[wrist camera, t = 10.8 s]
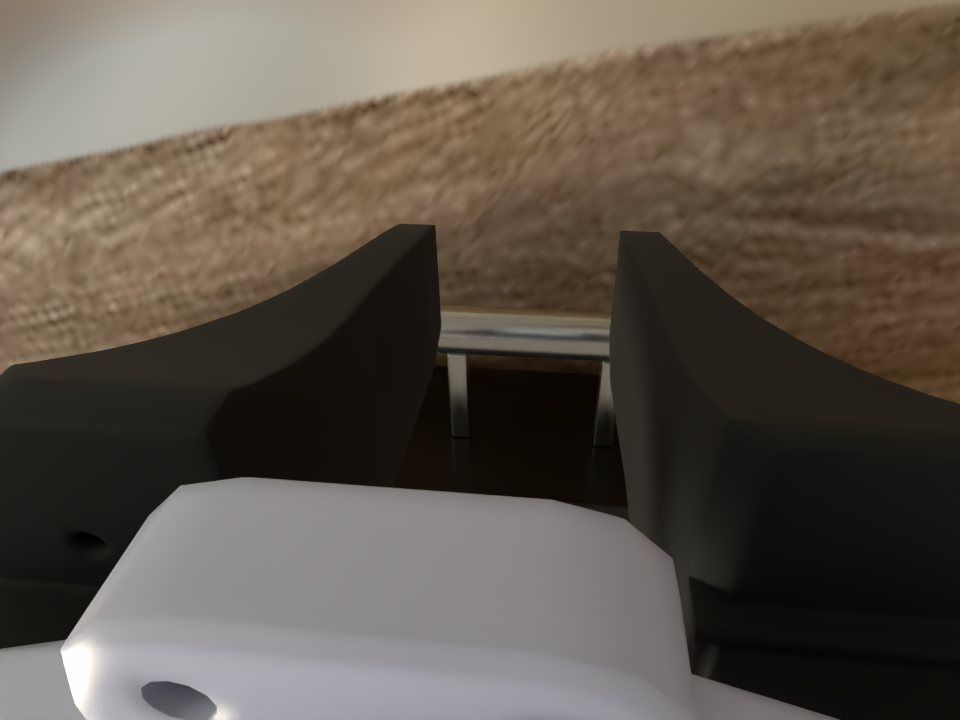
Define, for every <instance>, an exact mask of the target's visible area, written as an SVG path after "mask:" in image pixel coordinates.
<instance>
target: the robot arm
mask: <svg viewBox="0 0 960 720" xmlns="http://www.w3.org/2000/svg"><path fill="white" fill-rule="evenodd" d="M441 327H442V326H441V310H440V294H439V279H438V263H437V247H436V231H435V225H417V224H399V225H397V226H394V227H393V228H391V229H389V230H387V231H386V232H384V233H382V234H381V235H379V236H378V237H376V238H375V239H373V240H371V241H370V242H368V243H367V244H365V245H364V246H362V247H361V248H359V249H358V250H356V251H354V252H353V253H351V254H350V255H348V256H347V257H345V258H343V259H342V260H340V261H339V262H337V263H336V264H334V265H332V266H330V267H329V268H327V269H325V270H323V271H322V272H320V273H318V274H316V275H315V276H313V277H311V278H309V279H307V280H306V281H304V282H302V283H300V284H299V285H297V286H295V287H293V288H291V289H289V290H287V291H285V292H283V293H281V294H279V295H277V296H275V297H273V298H271V299H268V300H266V301H264V302H261V303H259V304H257V305H254V306H252V307H250V308H247V309H245V310H242V311H240V312H237V313H235V314H232V315H229V316H226V317H223V318H220V319H217V320H214V321H211V322H208V323H205V324H202V325H199V326H196V327H193V328H190V329H187V330H184V331H181V332H177V333H174V334H170V335H166V336H162V337H159V338H155V339H151V340H147V341H143V342H139V343H134V344H130V345H126V346H121V347H117V348H112V349H107V350H102V351H97V352H92V353H86V354H80V355H74V356H68V357H62V358H55V359H49V360H43V361H37V362H31V363H23V364H16V365H12V366H11V367H9V368H8V369H7V370H6V371H5V372H4V373H3V374H1V375H0V720H960V404H958V403H954V402H950V401H947V400H943V399H940V398H937V397H934V396H931V395H928V394H925V393H922V392H919V391H916V390H914V389H911V388H908V387H905V386H902V385H900V384H897V383H894V382H891V381H889V380H886V379H883V378H881V377H878V376H876V375H873V374H871V373H868V372H866V371H863V370H861V369H858V368H856V367H854V366H851V365H849V364H847V363H845V362H843V361H841V360H839V359H836V358H834V357H832V356H830V355H828V354H826V353H824V352H821V351H819V350H817V349H815V348H813V347H811V346H809V345H807V344H805V343H804V342H802V341H800V340H798V339H796V338H794V337H793V336H791V335H789V334H788V333H786V332H784V331H783V330H781V329H779V328H777V327H776V326H774V325H772V324H771V323H769V322H767V321H766V320H764V319H763V318H761V317H760V316H758V315H757V314H755V313H754V312H752V311H751V310H749V309H748V308H747V307H745V306H744V305H743V304H741V303H740V302H738V301H737V300H736V299H734V298H733V297H732V296H730V295H729V294H728V293H726V292H725V291H724V290H723V289H721V288H720V287H719V286H718V285H717V284H715V283H714V282H713V281H712V280H711V279H709V278H708V277H707V276H706V275H705V274H704V273H703V272H701V271H700V270H699V269H698V268H697V267H696V266H695V265H694V264H693V263H692V262H690V261H689V260H688V259H687V258H686V257H685V256H684V255H683V254H682V253H681V252H680V251H679V250H678V249H677V248H676V247H675V246H674V245H673V244H671V243H670V242H669V241H668V240H667V239H666V238H665V237H664V236H663V235H662V234H660V233H659V232H636V231H621V234H620V243H619V252H618V261H617V270H616V279H615V288H614V297H613V305H612V314H611V323H610V332H609V358H610V385H611V391H612V398H613V405H614V411H615V418H616V424H617V430H618V437H619V443H620V449H621V456H622V462H623V469H624V475H625V481H626V490H627V499H628V513H629V522H628V521H627V520H625V519H622V518H619V517H617V516H613V515H609V514H605V513H602V512H598V511H594V510H590V509H586V508H582V507H579V506H575V505H571V504H567V503H563V502H559V501H556V500H551V499H537V498H524V497H511V496H497V495H484V494H470V493H457V492H443V491H430V490H416V489H403V488H393V487H394V483H395V480H396V477H397V473H398V470H399V467H400V464H401V461H402V458H403V455H404V453H405V450H406V447H407V444H408V441H409V438H410V436H411V433H412V430H413V427H414V424H415V422H416V419H417V416H418V413H419V410H420V407H421V405H422V402H423V399H424V396H425V393H426V390H427V387H428V384H429V382H430V379H431V376H432V373H433V369H434V364H435V359H436V354H437V349H438V343H439V338H440V332H441Z"/></svg>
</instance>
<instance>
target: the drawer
mask: <svg viewBox="0 0 960 720" xmlns="http://www.w3.org/2000/svg"><path fill="white" fill-rule="evenodd" d="M440 310H441V326H442V327H441V332H440V338H439V343H438V351H439V352H440V353H447V364H448V366H434V369H433V373H432V376H431V379H430V382H429V384H428V387H427V390H426V393H425V396H424V399H423V402H422V405H421V407H420V410H419V413H418V416H417V419H416V422H415V424H414V427H413V430H412V433H411V436H410V438H409V441H408V444H407V447H406V450H405V453H404V455H403V458H402V461H401V464H400V467H399V470H398V473H397V477H396V480H395V483H394V487H393V488H403V489H416V490H430V491H443V492H457V493H470V494H484V495H497V496H511V497H524V498H537V499H551V500H556V501H559V502H563V503H567V504H571V505H575V506H579V507H582V508H586V509H590V510H594V511H598V512H602V513H605V514H609V515H613V516H617V517H619V518H622V519H625V520H627V521H628V522H629V513H628V499H627V490H626V481H625V475H624V469H623V462H622V456H621V449H620V443H619V437H618V430H617V424H616V418H615V411H614V405H613V398H612V391H611V385H610V358H609V332H610V323H611V314H612V312H599V311H577V310H555V309H532V308H510V307H487V306H465V305H441V306H440ZM469 354H476V355H496V356H515V357H534V358H553V359H572V360H591V361H600V369H599V375H595V374H577V373H559V372H540V371H522V370H504V369H485V368H470V357H469Z"/></svg>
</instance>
